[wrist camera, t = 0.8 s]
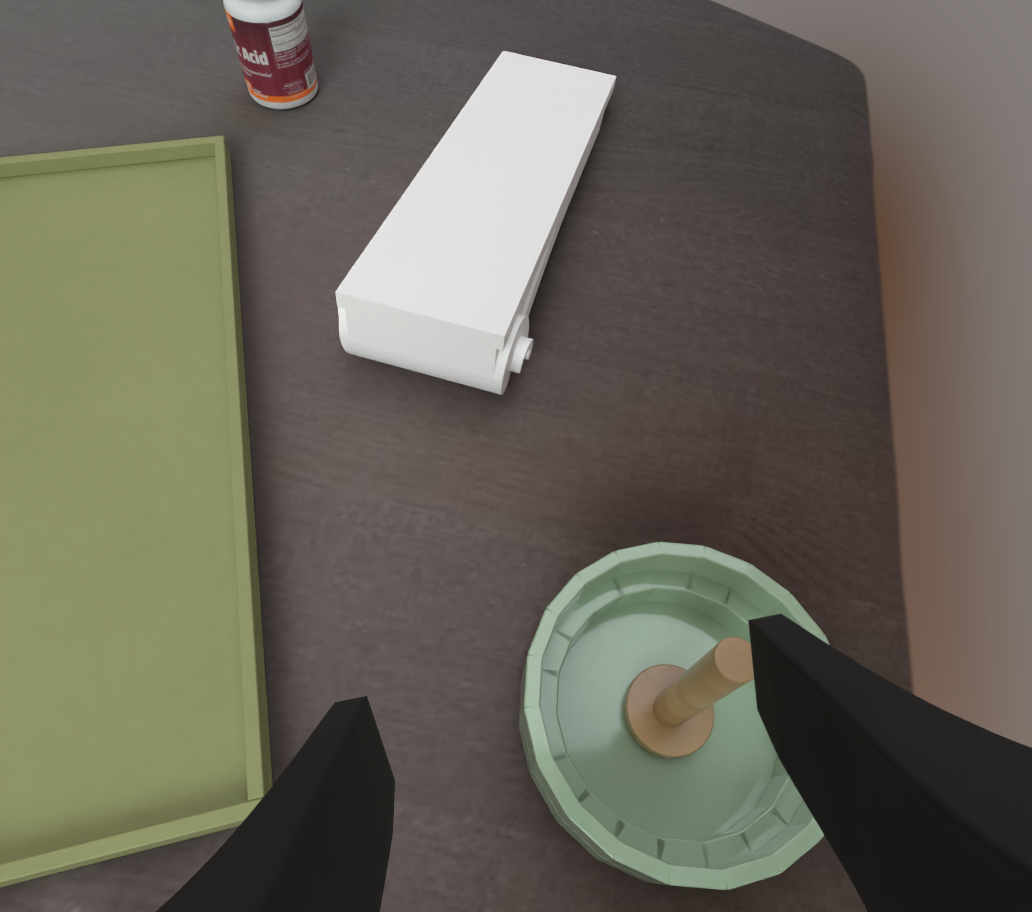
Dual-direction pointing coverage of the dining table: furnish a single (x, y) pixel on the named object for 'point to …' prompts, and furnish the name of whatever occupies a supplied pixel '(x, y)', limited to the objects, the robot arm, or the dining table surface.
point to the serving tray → (124, 509)
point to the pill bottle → (273, 51)
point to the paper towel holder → (684, 699)
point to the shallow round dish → (614, 753)
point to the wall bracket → (477, 228)
